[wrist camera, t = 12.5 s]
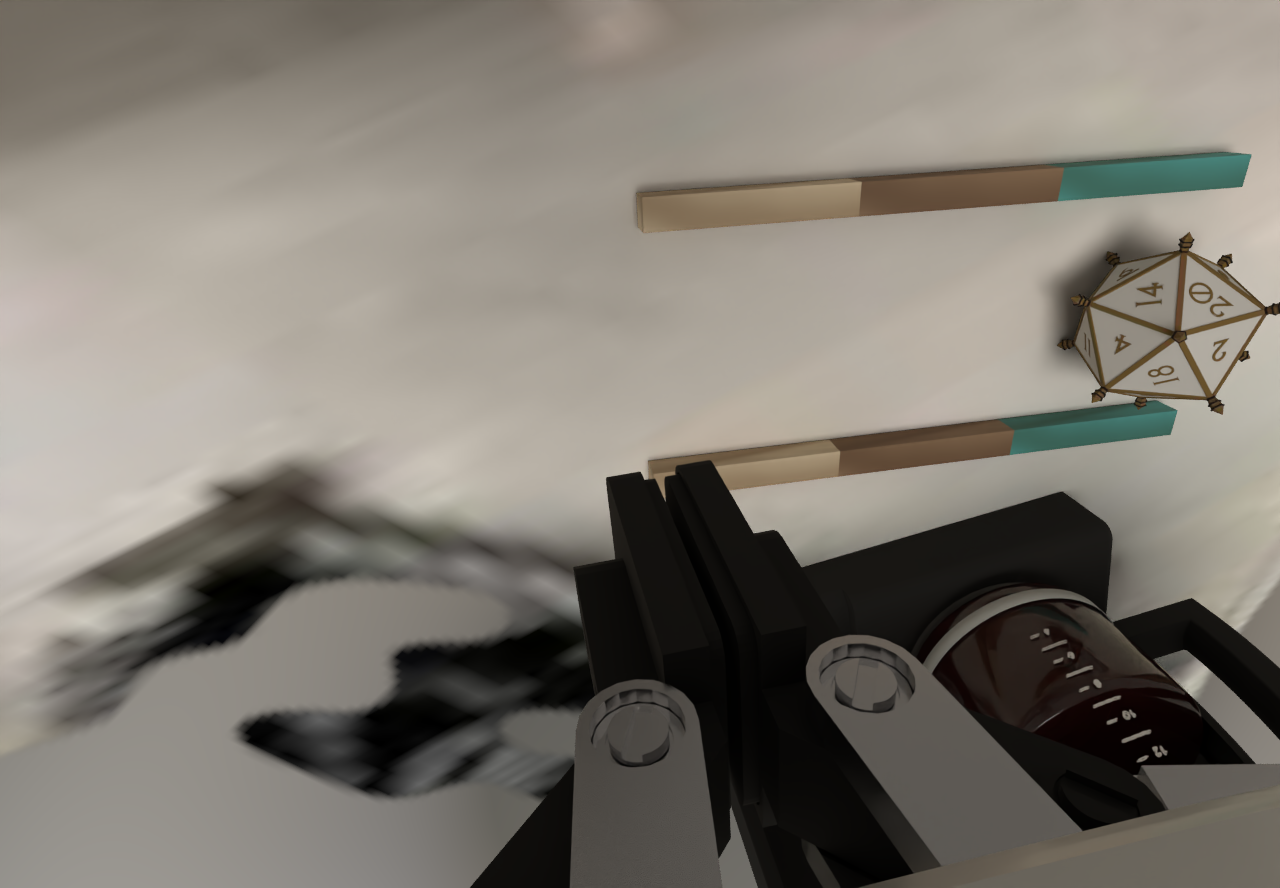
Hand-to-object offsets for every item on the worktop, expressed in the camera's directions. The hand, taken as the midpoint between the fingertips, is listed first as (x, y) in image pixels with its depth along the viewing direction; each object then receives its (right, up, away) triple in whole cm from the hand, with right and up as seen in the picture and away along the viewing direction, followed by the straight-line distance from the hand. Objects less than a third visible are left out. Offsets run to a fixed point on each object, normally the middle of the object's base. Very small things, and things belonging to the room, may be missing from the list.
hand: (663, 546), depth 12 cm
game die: (+24, +9, +29) cm, 39 cm away
